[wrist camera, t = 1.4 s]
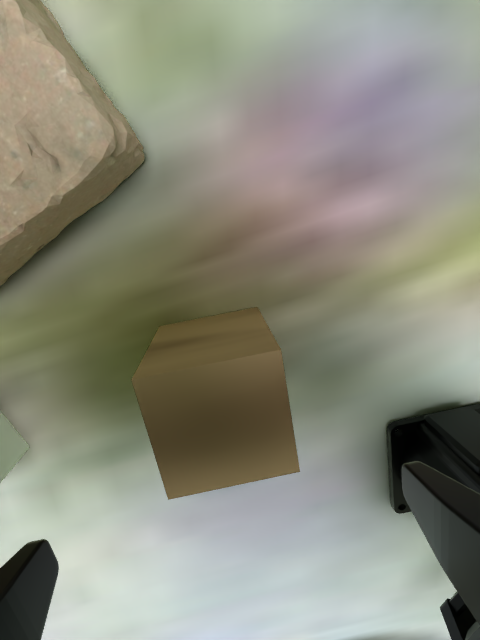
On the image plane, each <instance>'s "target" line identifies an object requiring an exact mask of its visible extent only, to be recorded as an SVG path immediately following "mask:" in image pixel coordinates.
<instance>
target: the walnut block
mask: <svg viewBox="0 0 480 640" xmlns="http://www.w3.org/2000/svg"><path fill="white" fill-rule="evenodd" d="M131 380H132V384H133V387H134V390H135V393H136V397H137V400H138V403H139V406H140V410H141V413H142V416H143V419H144V423H145V426H146V429H147V432H148V436H149V439H150V442H151V445H152V448H153V452H154V455H155V458H156V461H157V465H158V468H159V471H160V474H161V478H162V481H163V484H164V487H165V491H166V494H167V497H168V500H169V499H173V498H178V497H183V496H188V495H192V494H197V493H202V492H206V491H211V490H216V489H221V488H225V487H230V486H235V485H239V484H244V483H249V482H254V481H258V480H263V479H268V478H272V477H277V476H282V475H287V474H291V473H296V472H300V469H299V463H298V456H297V450H296V443H295V437H294V430H293V424H292V417H291V411H290V404H289V398H288V391H287V385H286V379H285V372H284V366H283V359H282V353H281V349H280V347H279V345H278V343H277V342H276V340H275V338H274V336H273V334H272V333H271V331H270V329H269V327H268V325H267V324H266V322H265V320H264V318H263V316H262V315H261V313H260V311H259V309H258V308H257V307H254V308H249V309H244V310H239V311H233V312H228V313H223V314H218V315H213V316H208V317H203V318H198V319H193V320H188V321H183V322H178V323H173V324H167V325H162V326H159V328H158V330H157V332H156V334H155V336H154V338H153V340H152V341H151V343H150V345H149V347H148V349H147V351H146V353H145V355H144V357H143V359H142V360H141V362H140V364H139V366H138V368H137V370H136V372H135V374H134V376H133V377H132V379H131Z"/></svg>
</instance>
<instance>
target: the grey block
mask: <svg viewBox="0 0 480 640" xmlns="http://www.w3.org/2000/svg"><path fill="white" fill-rule="evenodd" d="M29 448H30V447H29V445H28V444H27V443H26V442H25V440H24V439H23V438H22V437H21V436H20V434H19V433H18V432H17V431H16V429H15V428H14V427H13V426H12V425H11V423H10V422H9V421H8V420H7V418H6V417H5V416H4V415H3V414H2V412H1V411H0V483H1V481H2V480H3V479H4V478H5V477H6V475H7V474H8V473H9V472H10V471H11V469H12V468H13V467H14V466H15V465H16V463H17V462H18V461H19V460H20V458H21V457H22V456H23V455H24V454H25V452H26V451H27V450H28V449H29Z"/></svg>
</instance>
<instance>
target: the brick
mask: <svg viewBox="0 0 480 640" xmlns="http://www.w3.org/2000/svg"><path fill="white" fill-rule="evenodd" d="M143 149H144V148H143V146H142V145H141V143H140V142H139V140H138V139H137V137H136V135H135V133H134V131H133V130H132V128H131V127H130V125H129V123H128V122H127V120H126V118H125V117H124V116H123V114H121V113H120V112H119V111H118V110H116V109H115V107H114V105H113V104H112V101H111V100H110V99H109V98H108V97H107V96H106V94H105V93H104V92H103V91H102V89H101V88H100V86H99V85H98V83H97V81H96V79H95V78H94V76H92V75H91V74H90V73H89V72H88V71H87V69H86V68H85V66H84V65H83V63H82V61H81V59H80V58H79V57H78V55H77V54H76V53H75V50H74V49H73V48H72V47H71V45H70V44H69V43H68V42H67V40H66V39H65V37H64V34H63V32H62V30H61V28H60V26H59V24H58V22H57V21H56V19H55V18H54V16H53V14H52V13H51V12H50V11H49V10H48V9H47V8H46V7H45V6H44V5H43V3H42V2H41V1H40V0H0V286H1V285H2V284H4V283H5V282H6V281H7V279H8V278H9V277H10V275H12V274H13V273H14V272H16V271H17V270H19V269H20V268H21V267H22V266H23V265H24V264H25V263H26V262H27V261H28V260H29V259H30V258H31V257H32V256H33V255H34V254H35V253H36V252H38V251H39V250H40V249H42V248H43V247H44V246H45V245H46V244H48V243H49V242H50V241H51V240H53V239H54V238H56V237H57V236H58V234H59V233H60V232H61V231H62V230H63V229H64V228H65V227H66V226H67V225H68V224H69V223H71V222H72V221H73V220H74V219H76V218H78V217H79V216H81V215H83V214H84V213H86V212H87V211H88V210H89V209H90V208H92V207H94V206H95V205H97V204H98V203H100V202H102V201H103V200H104V199H105V198H106V197H108V196H109V195H110V194H111V193H112V192H113V191H114V190H115V188H116V187H117V186H118V185H119V184H120V183H121V182H122V181H123V180H125V179H126V178H128V177H129V176H130V175H131V174H132V173H133V172H134V171H135V170H136V169H137V168H138V167H139V166H140V165H141V164H142V162H143V161H144V159H145V158H144V153H143V151H142V150H143Z"/></svg>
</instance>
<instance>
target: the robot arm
mask: <svg viewBox="0 0 480 640" xmlns="http://www.w3.org/2000/svg"><path fill="white" fill-rule="evenodd" d="M397 429H399V430H398V431H397V432H395V431H396V430H397ZM387 441H388V460H389V479H390V497H391V506H392V507H393V509H394V510H395V512H396V513H399V514H400V513H406V512H411V511H412V513H413V514H414V516H415V518H416V520H417V522H418V524H419V526H420V528H421V530H422V531H423V533H424V535H425V537H426V539H427V541H428V543H429V545H430V546H431V548H432V550H433V552H434V554H435V556H436V558H437V559H438V561H439V563H440V565H441V566H442V568H443V570H444V571H445V573H446V574H447V576H448V578H449V579H450V581H451V582H452V584H453V585H454V587H455V588H456V590H457V592H456V593H455V594H454V596H453V597H452V598H451V599H447V600H446V601H445V602H444V603H443V604H442V605H441V607H440V610H441V612H442V615H443V618H444V620H445V623H446V626H447V628H448V631H449V634H450V636H451V639H452V640H480V404H475V405H470V406H465V407H461V408H456V409H451V410H446V411H442V412H437V413H432V414H427V415H422V416H418V417H413V418H408V419H403V420H398V421H394V422H392V423H390V424H389V426H388V427H387ZM58 570H59V566H58V561H57V559H56V557H55V555H54V552H53V550H52V548H51V546H50V544H49V542H48V541H47V540H45V539H42V540H37V541H32V542H29V543H27V544H26V545H25V546H23V547H22V548H21V549H20V550H19V551H18V552H17V553H16V554H15V555H14V556H13V557H12V558H11V559H10V560H9V561H7V562H6V563H5V564H4V565H3V566H2V567H1V568H0V640H41V637H42V633H43V629H44V626H45V622H46V618H47V614H48V610H49V606H50V603H51V599H52V595H53V591H54V587H55V584H56V580H57V576H58Z"/></svg>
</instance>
